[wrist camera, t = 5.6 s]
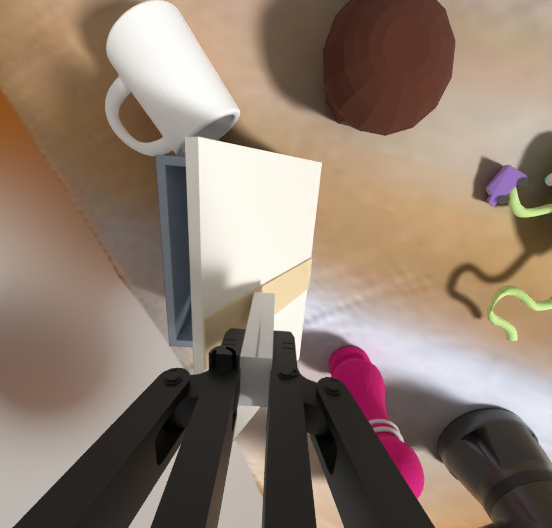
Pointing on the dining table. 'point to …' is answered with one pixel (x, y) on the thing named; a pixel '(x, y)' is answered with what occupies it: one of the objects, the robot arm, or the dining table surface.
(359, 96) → the muffin
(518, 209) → the figurine
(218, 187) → the lid
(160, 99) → the mug
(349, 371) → the pepper mill
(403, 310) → the dining table surface
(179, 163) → the box
